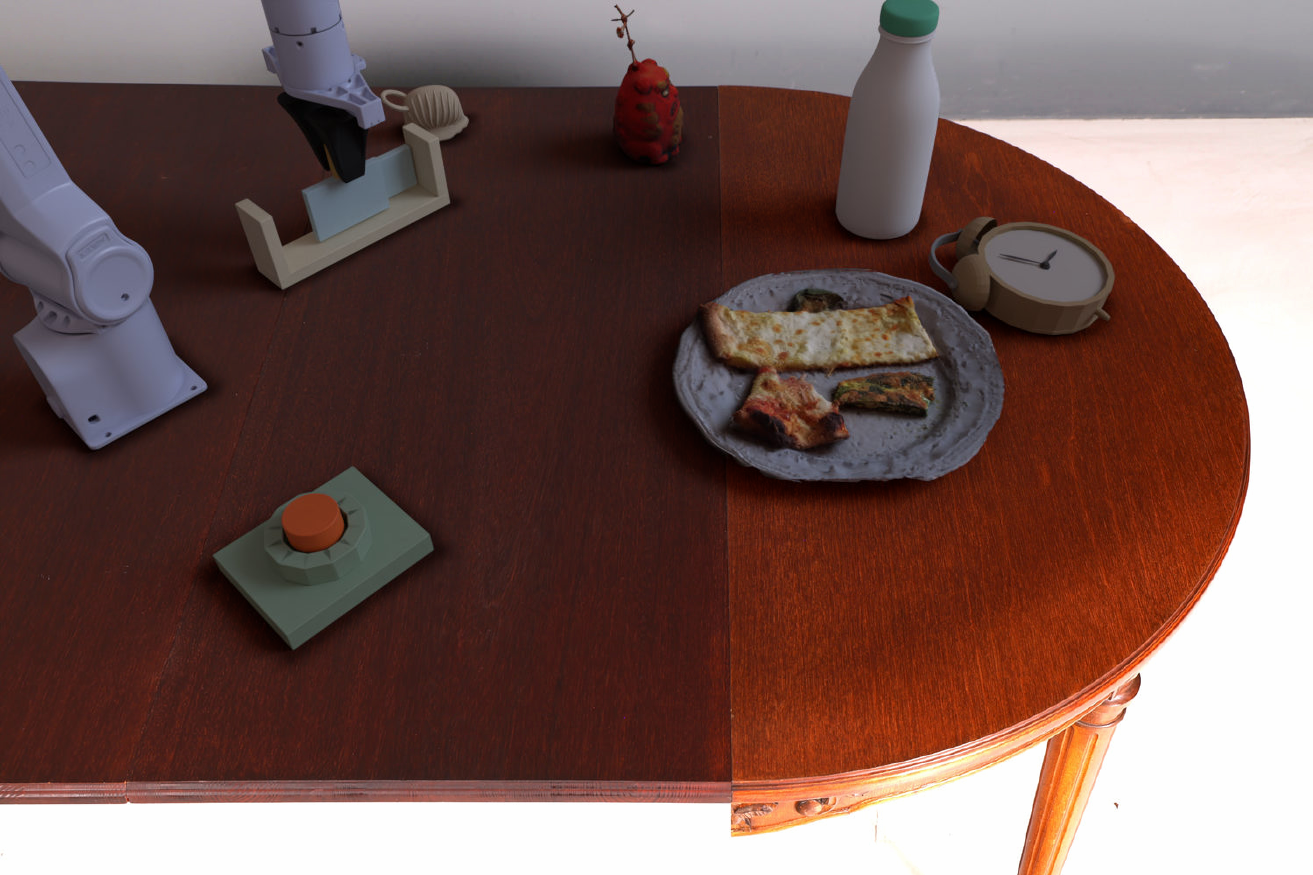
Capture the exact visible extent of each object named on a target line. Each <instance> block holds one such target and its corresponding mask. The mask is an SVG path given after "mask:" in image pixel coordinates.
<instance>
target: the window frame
mask: <svg viewBox="0 0 1313 875" xmlns="http://www.w3.org/2000/svg"><path fill="white" fill-rule="evenodd" d="M403 126H404V125H403ZM403 126H402V133H403V137H404V142H405V143H404V144H402V145H400V146H399V145H398V147H395V148H393V149H391V150H389V151H387V152H384V153H382V154H380V155H378V156H375V157H376V158H377V159H379V161H380V166H381V170H382V175H383V179H384V183H385V188H386V192H387V196H388V201H389V205H390V207H389V208H387V209H385V210H383V211H381V212H379V213H377V214H375V215H373V216H371V217H369V218H367V219H365V220H363V221H361V222H359V223H357V224H355V225H353V226H351V227H349V228H347V229H345V230H343V231H341V232H339V233H337V234H335V235H333V236H331V237H329V238H327V239H325V240H323V241H321V242H320V241H318V240H317V239H316V238H315V235H314V232H313V231H311V232H309V233H306V234H305V235H302V236H301V237H299V238H297V239H295V240H292V241H290V242H288V243H287V244H284V245H282V243H281V239H280V236H279V233H278V230H277V227H276V224H275V221H274V217H273V216H272V215H270V213H268V212H267V211H265V210H264V209H263V208H261V207H260V206H259V205H257V204H256V203H254V202H253V201H252V200H250V199H249V198H245V199H242V200H240V201H237V202H235V204H234V205H235V208H236V211H237V214H238V217H239V219H240V223H241V226H242V228H243V231H244V234H245V237H246V238H247V243H248V245H249V248H250V251H251V254H252V255H253V260H254V262H255V265H256V268H257V270H258V272H259V273H260V274H262V275H263V276H264V277H266V278H267V279H268V280H269V281H271V282H272V283H273V284H274V285H276V286H277V287H278V288H280V289H281V290H283V291H284V290H285V289H287V288H289V287H291V286H293V285H295V284H296V283H299V282H300V281H303V280H305V279H306V278H308V277H310V276H313V275H314V274H316V273H318V272H320V271H322V270H323V269H326V268H328V267H329V266H332V265H333V264H336V263H338V262H339V261H341V260H343V259H345V258H347V257H349V256H351V255H353V254H355V253H356V252H358V251H360V250H363V249H365V248H366V247H369V246H370V245H372V244H374V243H376V242H378V241H379V240H382V239H384V238H386V237H387V236H390V235H392V234H393V233H396V232H397V231H400V230H401V229H403V228H405V227H407V226H409V225H411V224H412V223H415V222H417V221H419V220H421V219H422V218H424V217H427V216H429V215H430V214H432V213H434V212H436V211H438V210H440V209H441V208H444V207H445V206H448V205H449V204H451V200H450V193H449V189H448V185H447V184H448V183H447V178H446V172H445V167H444V166H445V165H444V162H443V156H442V150H441V145H440V141H439V139H438V137H436V136H435V135H433V134H431V133H429V132H428V131H426V130H424V129H422V128H421V127H419V126H417V125H416V124H414V123H410V124H408V125H406V126H404V127H403Z"/></svg>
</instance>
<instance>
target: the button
mask: <svg viewBox="0 0 1313 875" xmlns="http://www.w3.org/2000/svg"><path fill="white" fill-rule="evenodd" d="M281 522H282V526H283V528H284V531H285V533H286V535H287V538H288V540H289V542H290V544H291V545H292V546H293V547H294V548H295V549H297V550H299V551H302V552H307V553H312V552H319V551H322V550H325V549H327V548H329V547H331V546H332V545H334V544H335V543H336V542H337V541H338V540H339V539H340V537H341V536H342V534H343V531H344V521H343V518H342V515H341V513H340V510H339V507H338V504H337V502H336V501H335V500H334V499H333V498H332V497H330V496H328V495H325V494H320V493H313V494H307V495H304V496H301V497H299V498H297V499H295V500H294V501H292V502H291V503H290V504H289V505H288V506H287V507H286V508H285V510H284V512H283V514H282V518H281Z"/></svg>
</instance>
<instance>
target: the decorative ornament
mask: <svg viewBox="0 0 1313 875" xmlns="http://www.w3.org/2000/svg"><path fill="white" fill-rule="evenodd" d="M379 96H380V97H379V98H380V99H381V102H382V104H384V106H386V107H387V108H389V109H391V110H392V111H395V112H399V113H403V118H404V124H403V125H402V127H404V126H406V125H408V124H410V123H414V124H416V125H417V126H419V127H421V128H422V129H424V130H426V131H428V132H429V133H431V134H433V135H435V136H436V137H438V139H439V142H444V141H448V140H451V139H453V138H454V137H455V135H457V134H460V133H462V131H463V129H465V128H467V127H468V124H469V123H470V122H469V121H470V118H468V116H466V115H465V114H464V111H463V108H462V104H461V101H460V99H459V97H458V95H457V93H456V92H455V91H454V90H453V89H452V88H450V87H448V86H445V85H441V84H431V85H423V86H419V87H417V88H415V89H412V90H411V91H409V92H408V93H407V94H406V93H404V92H402V91H401V90H400V91H399V90H396V89H385V90H383V91H382V92H381V93H380V95H379ZM386 96H392V97H396V98H398V99H401V100H403V104H402V105H403V106H402V105H398V104H395V103H392V102H390V100H388V99H387V97H386Z"/></svg>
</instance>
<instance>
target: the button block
mask: <svg viewBox="0 0 1313 875" xmlns="http://www.w3.org/2000/svg"><path fill="white" fill-rule="evenodd" d="M313 493H320V494H325V495H328V496H330V497H332V498H333V499H334V500H335V501H336V502H337V504H338V507H339V510H340V513H341V515H342V518H343V521H344V531H343V534H342V536H341V537H340V539H339V540H338V541H337V542H336V543H335V544H334V545H332V546H331V547H329V548H327V549H325V550H322V551H319V552H312V553H307V552H302V551H299V550H297V549H295V548H294V547H293V546H292V545H291V544H290V542H289V540H288V538H287V535H286V533H285V531H284V528H283V526H282V522H281V518H282V514H283V512H284V510H285V508H286V507H287V506H288V505H289V504H290V503H291V502H292V501H294V500H295V499H297V498H299V497H301V496H304V495H307V494H313ZM434 550H435V549H434V545H433V541H432V537H431V535H430V533H429V532H428V531H427V530H425V529H424V528H423V527H422V526H421V524H419V523H418V522H417V521H415V520H414V519H413V517H411V516H410V515H409V514H408V513H406V512H405V511H404V510H403V509H401V507H400V506H399V505H397V503H395V502H394V501H393V500H392V499H391V498H390V497H388V496H387V495H386V494H385V493H384V492H383V491H382V490H381V489H379V488H378V487H377V486H376V485H375V484H373V482H371V481H370V480H369V478H367V477H366V476H365V475H363V473H361V472H360V471H359V470H358V469H357V468H356V467H354V465H351V466H350V467H349V468H347V469H346V470H344V471H342V472H340V473H339V474H337V475H336V476H334V477H333V478H332V479H329V481H326V482H325V483H323V484H322V485H320V486H319V487H317V488H315V489H313V491H309V492H303V493H300V494H298V495H295V497H292V498H290V500H288V501H286V502H285V503H283V504H281V505H280V506H278V507H277V508H276V509H275V510H274V512H273V513H272V515H271V517H270V518H269V519H267V520H265V521H264V522H262V523H261V524H259V525H257V526H256V527H254V528H253V529H251V530H249V531H248V532H247V533H244V534H243V535H241V536H240V537H239V538H237V539H236V540H234V541H232V542H231V543H229V544H227V545H226V546H224V547H223V548H221V549H220V550H218V551H217V552H215V553H214V554H212V557H213V559H214V562H215V563H216V566H217V567H218V569H219V571H220V573H222V574H223V575H224V576H225V577H226V579H227V580H228V581H229V582H230V583H231V584H232V586H234V588H235V589H237V590H238V592H239V593H240V594H241V595H242V596H243V597H244V598H245V599H246V600H247V602H249V604H250V605H251V606H252V607H253V608H254V609H255V611H257V612H258V614H259V615H260V616H261V617H262V618H263V619H264V620H265V621H266V622H267V623H268V624H269V626H270V627H271V628H272V629H273V630H274V631H275V632H276V633H277V635H278V636H279V637H280V638H281V639H282V640H283V641H284V642H285V643H286V644H287V645H288V646H289V647H290V648H291V650H292V651H294V650H296V649H297V648H299V647H300V646H302V645H303V644H304V643H306V642H307V641H309V640H310V639H311V638H313V637H314V636H316V635H317V634H318V633H320V632H321V631H322V630H324V629H325V628H326V627H328V626H329V625H331V624H332V623H334V622H335V621H336V620H338V619H339V618H341V617H342V616H344V615H345V614H346V613H348V612H349V611H350V610H352V609H353V608H354V607H356V606H358V605H359V604H360V603H361V602H363V601H364V600H366V599H367V598H369V597H370V596H371V595H372V594H374V593H376V592H377V591H378V590H380V589H381V588H382V587H384V586H385V585H387V584H388V583H390V582H391V581H392V580H394V579H395V578H397V577H398V576H399V575H401V574H403V573H404V572H405V571H407V569H409V568H410V567H412V566H414V565H415V564H416V563H417V562H419V561H420V560H422V559H423V558H424V557H426V556H428V554H430V553H432V552H433V551H434Z"/></svg>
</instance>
